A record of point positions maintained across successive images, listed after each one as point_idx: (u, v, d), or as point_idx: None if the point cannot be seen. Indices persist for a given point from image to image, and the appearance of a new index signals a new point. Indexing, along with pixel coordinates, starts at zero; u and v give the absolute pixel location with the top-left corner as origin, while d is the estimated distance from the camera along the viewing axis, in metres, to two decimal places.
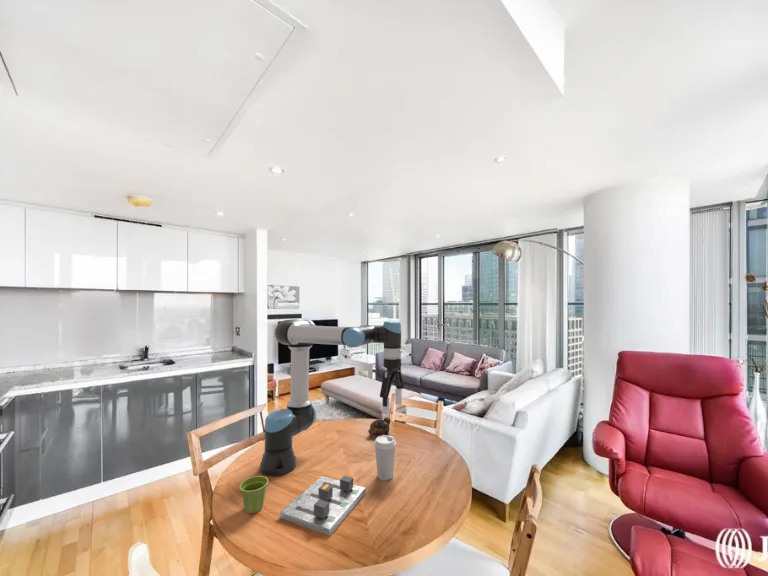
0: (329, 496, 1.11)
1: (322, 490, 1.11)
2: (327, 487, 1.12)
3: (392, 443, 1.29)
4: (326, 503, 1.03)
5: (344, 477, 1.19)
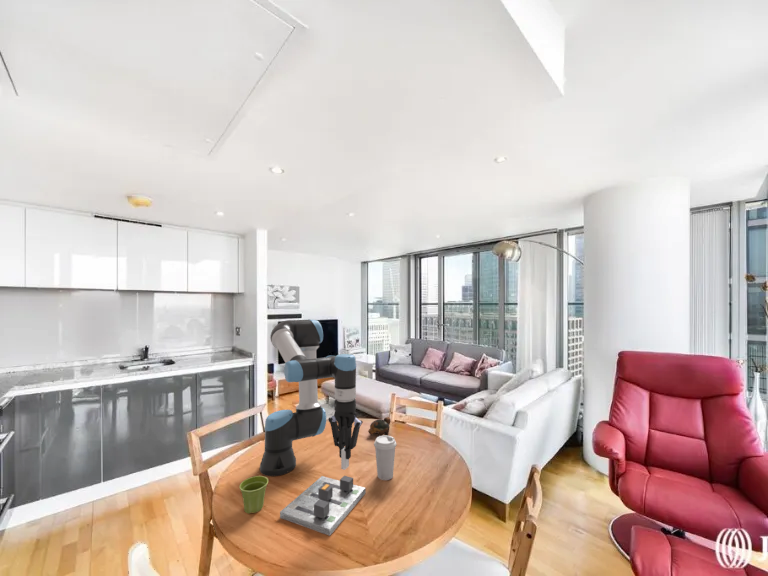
0: (329, 496, 1.11)
1: (322, 490, 1.11)
2: (327, 487, 1.12)
3: (392, 443, 1.29)
4: (326, 503, 1.03)
5: (344, 477, 1.19)
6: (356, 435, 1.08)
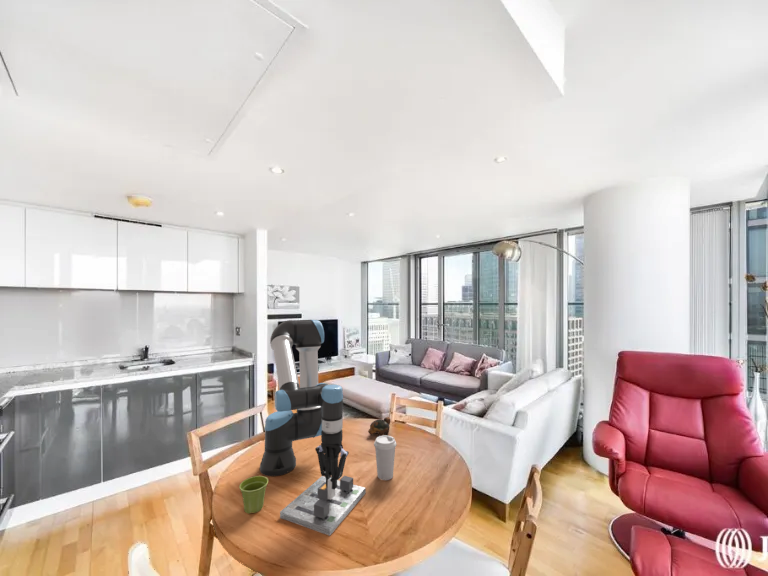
0: None
1: (321, 490, 1.11)
2: (326, 487, 1.12)
3: (392, 443, 1.29)
4: (326, 503, 1.03)
5: (344, 477, 1.19)
6: (342, 466, 1.10)
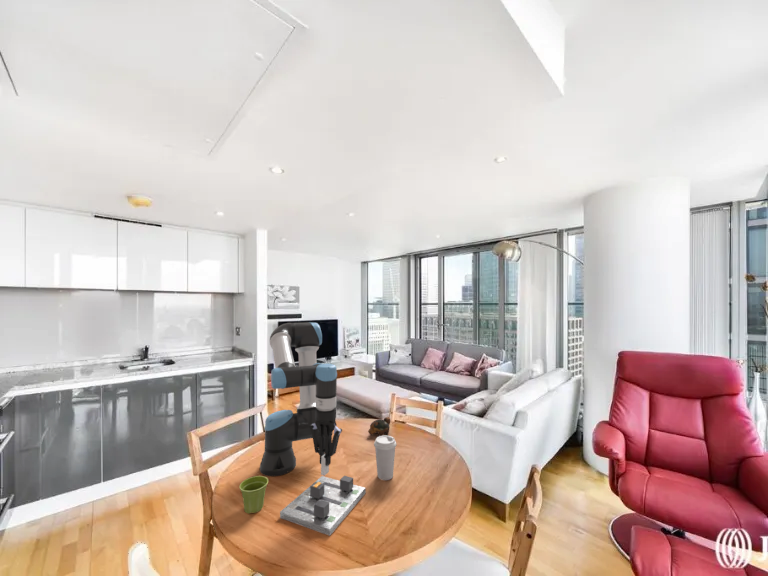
0: (321, 494, 1.12)
1: (314, 488, 1.12)
2: (319, 485, 1.14)
3: (392, 443, 1.29)
4: (326, 503, 1.03)
5: (344, 477, 1.19)
6: (336, 443, 1.11)
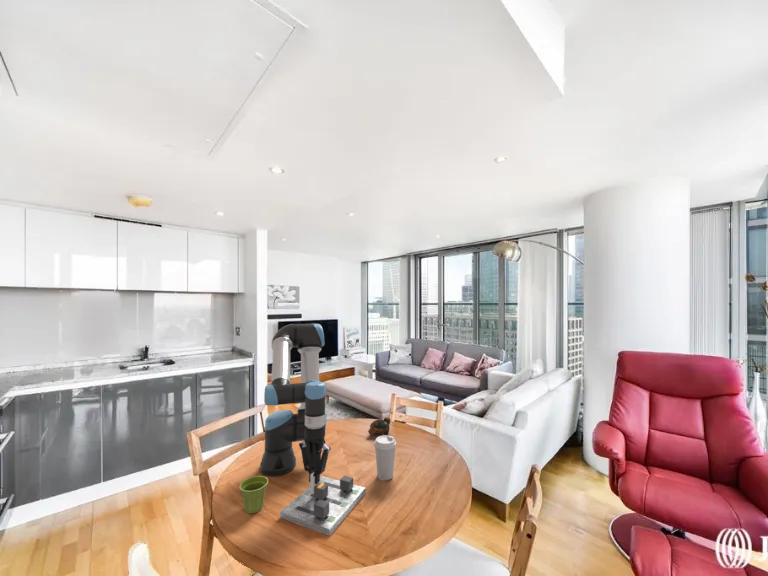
0: (324, 495, 1.12)
1: (317, 489, 1.12)
2: (322, 486, 1.13)
3: (392, 443, 1.29)
4: (326, 503, 1.03)
5: (344, 477, 1.19)
6: (324, 461, 1.12)
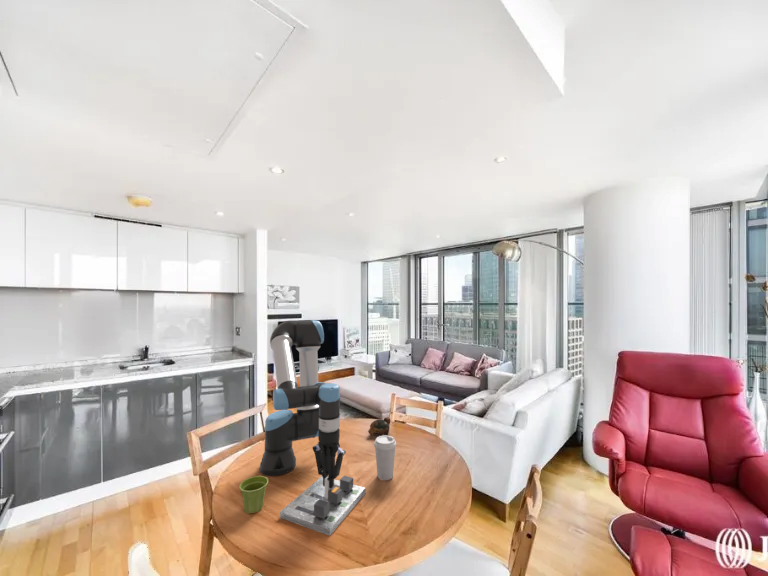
0: (339, 499, 1.09)
1: (332, 493, 1.09)
2: (337, 490, 1.11)
3: (392, 443, 1.29)
4: (326, 503, 1.03)
5: (344, 477, 1.19)
6: (339, 465, 1.10)
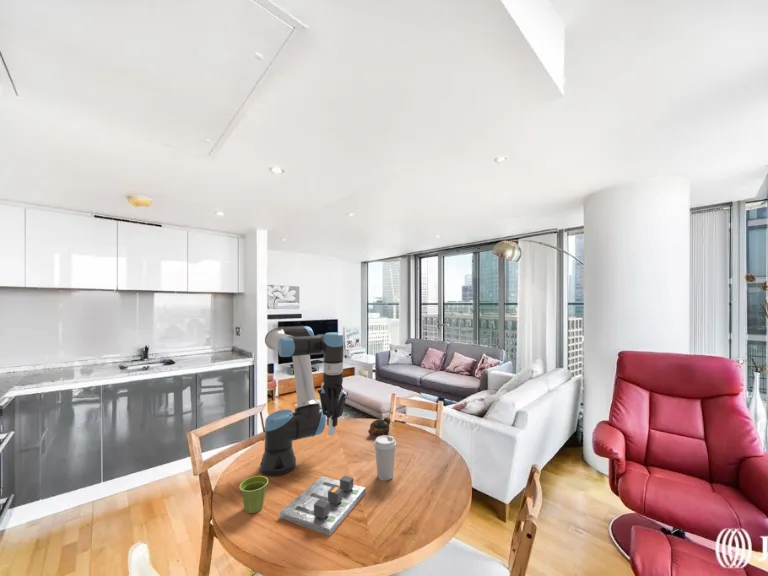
0: (339, 499, 1.09)
1: (332, 493, 1.09)
2: (337, 490, 1.10)
3: (392, 443, 1.29)
4: (326, 503, 1.03)
5: (344, 477, 1.19)
6: (342, 405, 1.19)
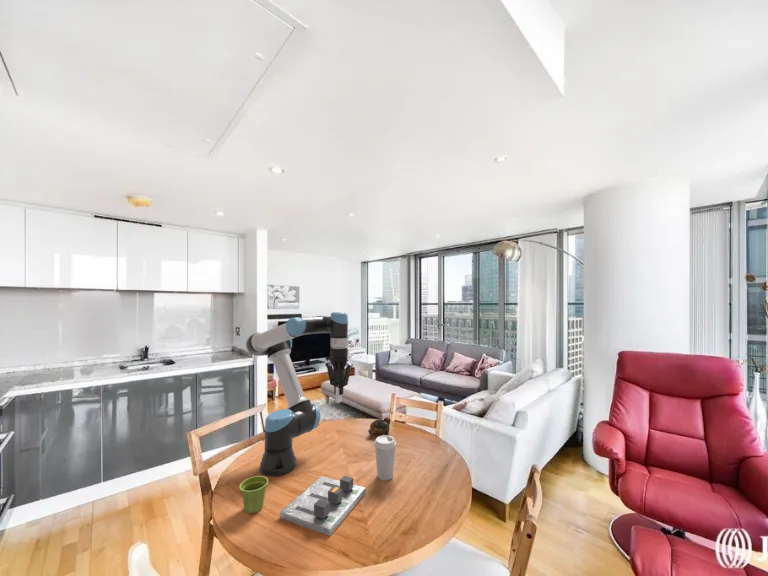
0: (339, 499, 1.09)
1: (332, 493, 1.09)
2: (337, 490, 1.10)
3: (392, 443, 1.29)
4: (326, 503, 1.03)
5: (344, 477, 1.19)
6: (347, 375, 1.34)
